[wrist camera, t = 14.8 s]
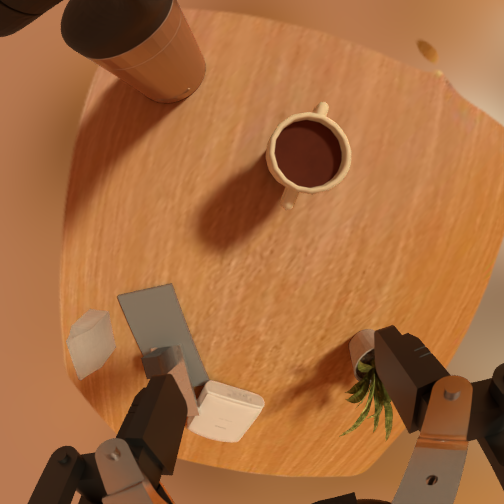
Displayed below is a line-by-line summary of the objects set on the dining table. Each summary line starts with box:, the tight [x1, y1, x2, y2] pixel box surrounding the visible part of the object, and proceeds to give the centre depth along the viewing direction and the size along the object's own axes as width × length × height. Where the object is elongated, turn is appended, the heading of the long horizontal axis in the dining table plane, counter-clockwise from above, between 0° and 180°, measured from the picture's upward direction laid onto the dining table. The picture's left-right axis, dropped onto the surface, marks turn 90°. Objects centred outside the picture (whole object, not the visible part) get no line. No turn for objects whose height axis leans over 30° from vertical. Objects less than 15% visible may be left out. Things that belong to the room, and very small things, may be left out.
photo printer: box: [187, 380, 264, 442], centre depth 43 cm, size 10×4×12 cm
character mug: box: [265, 102, 351, 210], centre depth 29 cm, size 11×7×13 cm, turn 161°
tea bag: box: [66, 309, 116, 380], centre depth 37 cm, size 4×7×10 cm, turn 179°
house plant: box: [339, 329, 393, 441], centre depth 34 cm, size 14×14×16 cm
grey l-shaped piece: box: [141, 344, 201, 416], centre depth 38 cm, size 12×5×7 cm, turn 13°
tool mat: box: [117, 283, 209, 387], centre depth 42 cm, size 18×9×1 cm, turn 14°
